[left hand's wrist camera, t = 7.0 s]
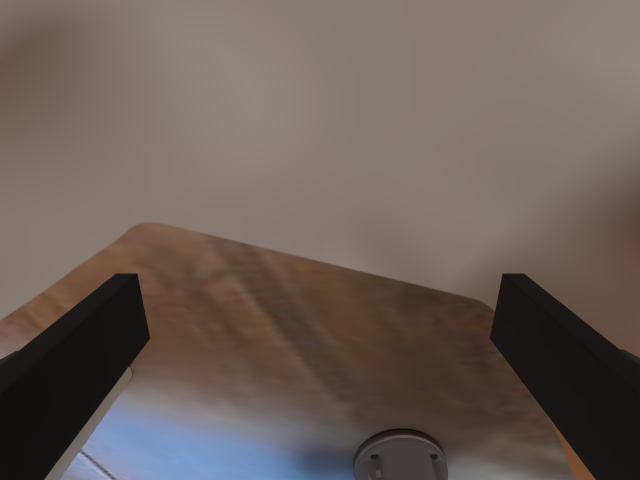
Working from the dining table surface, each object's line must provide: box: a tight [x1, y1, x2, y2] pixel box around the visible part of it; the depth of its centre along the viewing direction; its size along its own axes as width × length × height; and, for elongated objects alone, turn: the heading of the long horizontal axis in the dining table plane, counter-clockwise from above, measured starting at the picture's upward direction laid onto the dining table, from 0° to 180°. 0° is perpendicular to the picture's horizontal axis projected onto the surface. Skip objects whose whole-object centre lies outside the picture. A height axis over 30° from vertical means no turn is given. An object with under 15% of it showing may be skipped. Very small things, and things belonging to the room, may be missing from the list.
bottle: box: [44, 367, 132, 480], centre depth 42 cm, size 5×5×23 cm
